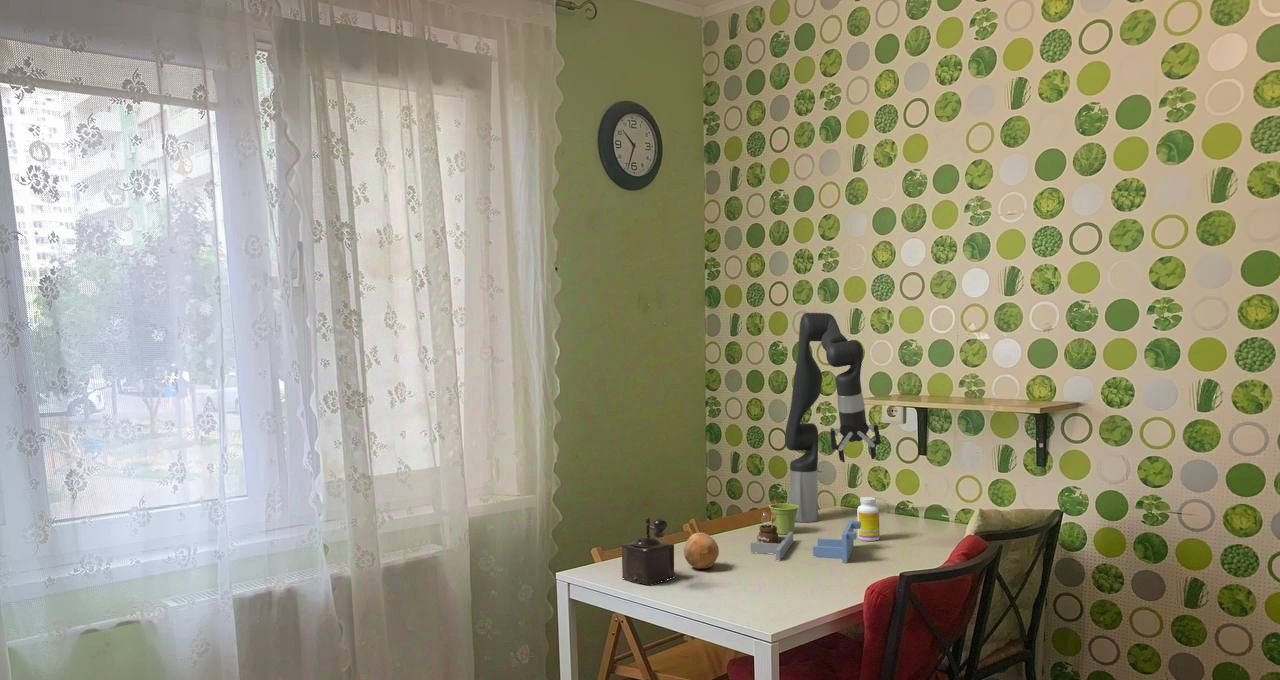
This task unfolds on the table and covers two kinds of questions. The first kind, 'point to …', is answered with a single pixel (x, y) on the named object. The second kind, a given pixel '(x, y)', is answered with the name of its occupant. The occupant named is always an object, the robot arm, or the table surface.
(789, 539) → the grey rail with prongs
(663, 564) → the manual coffee grinder
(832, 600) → the table surface
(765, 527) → the utensil holder
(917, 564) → the table surface
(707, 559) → the onion
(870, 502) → the supplement bottle
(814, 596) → the table surface
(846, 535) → the blue rail with prongs
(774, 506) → the plant pot
